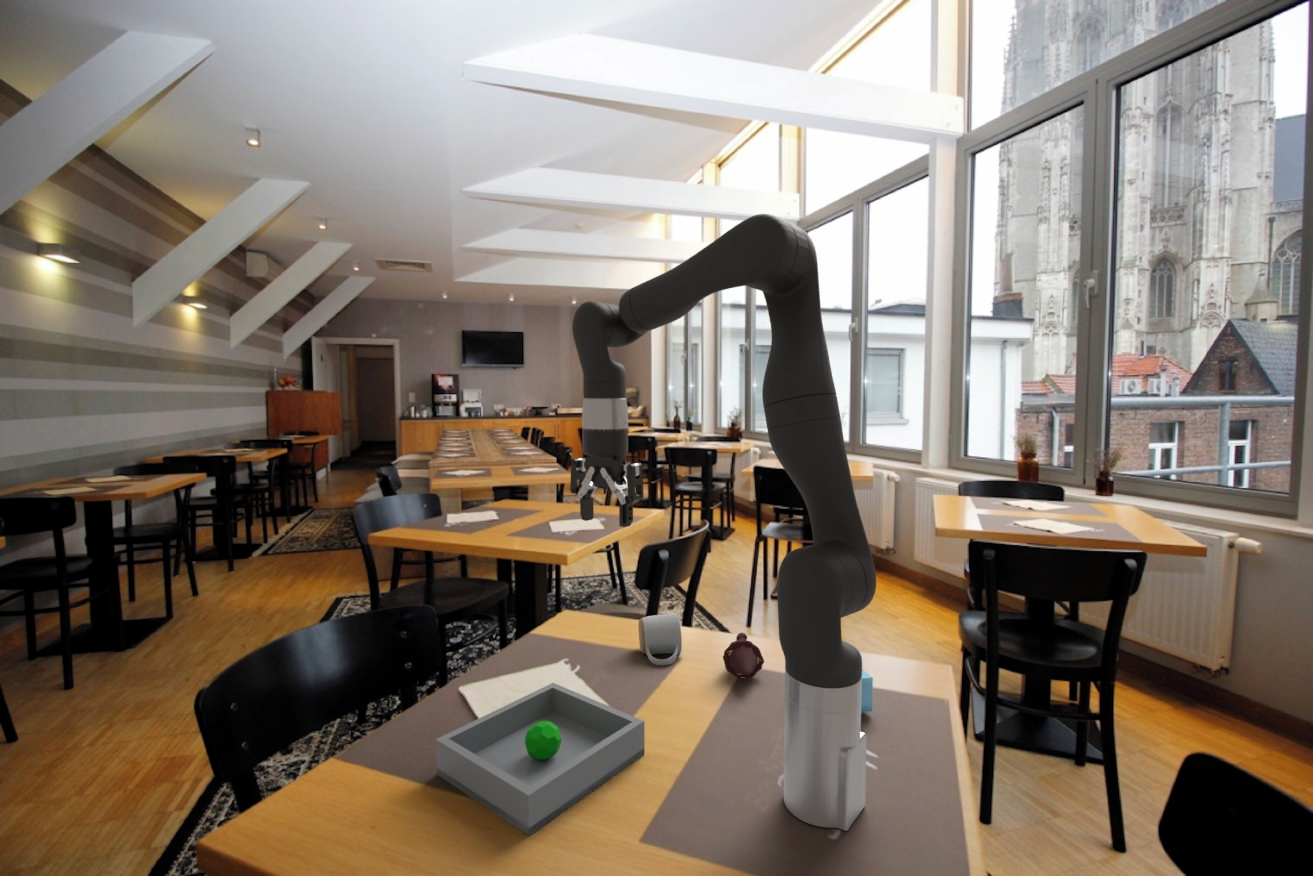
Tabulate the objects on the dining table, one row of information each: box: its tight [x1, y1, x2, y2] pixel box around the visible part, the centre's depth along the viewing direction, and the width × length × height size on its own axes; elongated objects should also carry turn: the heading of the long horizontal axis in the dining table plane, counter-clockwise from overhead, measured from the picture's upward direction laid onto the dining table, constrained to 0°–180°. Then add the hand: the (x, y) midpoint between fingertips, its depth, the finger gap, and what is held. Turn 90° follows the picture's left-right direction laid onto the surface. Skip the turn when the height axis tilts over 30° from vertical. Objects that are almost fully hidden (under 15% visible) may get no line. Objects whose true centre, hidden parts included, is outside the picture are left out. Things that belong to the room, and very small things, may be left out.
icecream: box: [722, 632, 765, 679], centre depth 115 cm, size 7×7×15 cm
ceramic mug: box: [638, 612, 683, 667], centre depth 124 cm, size 11×8×8 cm
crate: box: [435, 682, 646, 837], centre depth 88 cm, size 19×21×5 cm
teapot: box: [861, 668, 874, 715], centre depth 105 cm, size 12×6×8 cm, turn 11°
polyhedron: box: [525, 721, 561, 760], centre depth 88 cm, size 5×5×5 cm
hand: (605, 523), depth 105 cm, fingers open, 8 cm apart
